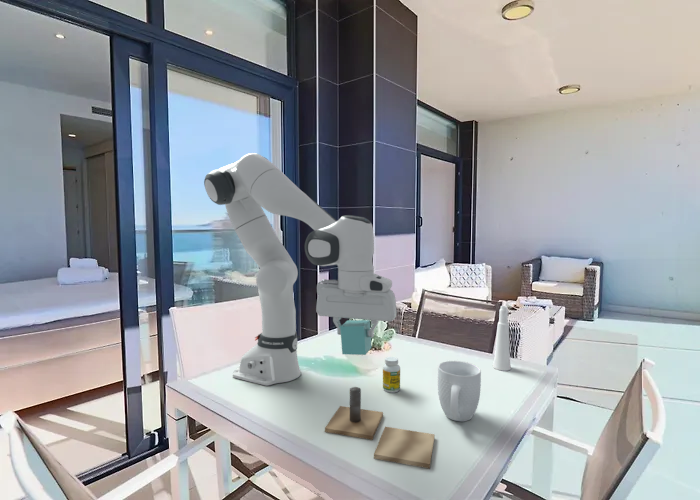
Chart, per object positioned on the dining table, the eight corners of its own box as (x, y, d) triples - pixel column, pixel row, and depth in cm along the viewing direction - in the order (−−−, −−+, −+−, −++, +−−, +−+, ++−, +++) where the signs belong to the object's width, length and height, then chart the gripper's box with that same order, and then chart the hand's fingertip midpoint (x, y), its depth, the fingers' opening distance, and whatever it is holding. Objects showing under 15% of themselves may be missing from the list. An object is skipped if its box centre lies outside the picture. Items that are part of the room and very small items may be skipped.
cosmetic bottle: (488, 366, 140) (490, 305, 139) (501, 363, 143) (503, 303, 142) (502, 372, 135) (504, 309, 133) (514, 369, 138) (517, 307, 136)
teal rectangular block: (342, 354, 98) (340, 326, 97) (349, 346, 103) (347, 320, 103) (365, 354, 96) (363, 326, 95) (371, 347, 101) (369, 320, 101)
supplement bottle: (392, 384, 125) (392, 354, 124) (403, 390, 120) (404, 359, 120) (379, 388, 122) (379, 357, 121) (390, 394, 118) (390, 363, 117)
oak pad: (373, 458, 86) (373, 454, 86) (385, 430, 97) (385, 426, 97) (429, 468, 83) (429, 464, 82) (434, 438, 94) (434, 434, 94)
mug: (477, 437, 94) (478, 384, 93) (431, 428, 98) (432, 377, 97) (480, 410, 108) (482, 363, 107) (440, 403, 112) (441, 358, 111)
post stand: (324, 431, 97) (324, 396, 96) (340, 409, 108) (340, 377, 107) (372, 439, 93) (372, 403, 93) (383, 415, 105) (383, 382, 104)
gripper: (312, 280, 98) (312, 335, 99) (393, 285, 92) (392, 343, 93) (321, 277, 104) (321, 328, 105) (398, 281, 98) (397, 335, 99)
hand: (355, 335), depth 99 cm, fingers closed on teal rectangular block, 6 cm apart
